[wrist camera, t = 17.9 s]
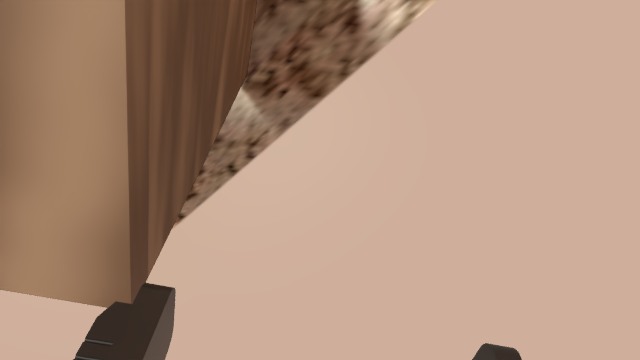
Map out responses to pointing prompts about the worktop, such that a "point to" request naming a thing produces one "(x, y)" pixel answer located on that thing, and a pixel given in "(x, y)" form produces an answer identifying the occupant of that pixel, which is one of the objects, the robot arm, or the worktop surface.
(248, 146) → the worktop surface
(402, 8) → the worktop surface
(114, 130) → the walnut shelf
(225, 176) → the worktop surface
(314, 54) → the worktop surface
